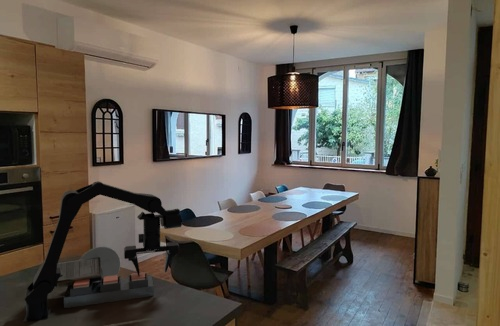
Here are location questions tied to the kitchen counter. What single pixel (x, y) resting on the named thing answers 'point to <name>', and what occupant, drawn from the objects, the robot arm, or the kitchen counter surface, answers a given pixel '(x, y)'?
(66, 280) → the coffee box
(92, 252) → the chinaware
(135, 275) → the button
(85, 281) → the button
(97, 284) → the gray slotted rack
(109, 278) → the button
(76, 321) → the kitchen counter surface
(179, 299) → the kitchen counter surface
